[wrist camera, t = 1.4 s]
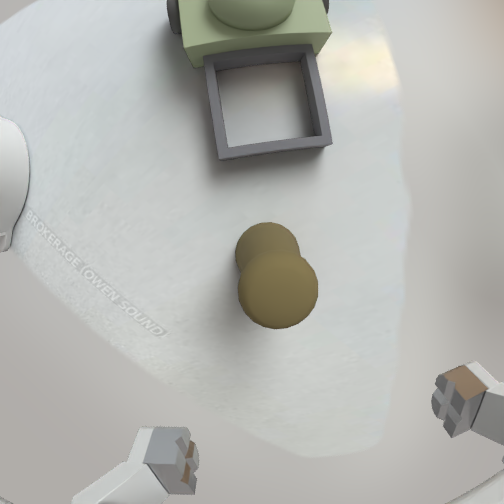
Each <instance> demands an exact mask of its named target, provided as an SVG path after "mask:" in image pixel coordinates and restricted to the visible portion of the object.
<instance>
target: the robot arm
mask: <svg viewBox="0 0 504 504" xmlns="http://www.w3.org/2000/svg"><path fill="white" fill-rule="evenodd" d="M28 183H29V155H28V149H27V145H26V141H25V138H24V136H23V134H22V132H21V130H20V129H19V127H18V126H17V125H16V124H15V123H14V122H12V121H10V120H8V119H5V118H3V117H1V116H0V252H4V251H7V250H8V249H9V247H10V243H11V237H12V230H13V227H14V225H15V223H16V221H17V219H18V217H19V215H20V213H21V211H22V208H23V205H24V202H25V199H26V195H27V190H28ZM435 385H436V386H437V387H438V388H437V389H436V390H435V392H434V393H433V396H432V400H431V402H432V409H433V411H434V414H435V415H436V417H437V418H439V419H441V420H444V423H443V427H444V428H445V430H446V431H447V433H448V434H449V435H450V437H451V438H453V437H455V436H457V435H459V434H461V433H463V432H465V431H468V430H470V429H471V430H472V431H474V432H476V433H478V434H480V435H482V436H484V437H486V438H488V439H491V440H493V441H495V442H497V443H499V444H501V445H504V382H501V383H499V382H498V381H497V380H496V379H495V378H493V377H492V376H491V375H490V374H489V373H488V372H487V371H486V370H485V369H484V368H483V367H482V366H481V365H480V364H478V362H476V361H474V360H472V361H470V362H467V363H465V364H463V365H461V366H458V367H456V368H454V369H452V370H450V371H447V372H445V373H442V374H440V375H438V377H437V378H436V382H435ZM190 436H191V434H190V432H189V430H188V428H186V427H147V426H142V427H141V428H140V429H139V430H138V433H137V435H136V438H135V441H134V443H133V446H132V449H131V451H130V454H129V457H128V460H127V462H121V463H120V464H119V465H118V466H116V467H115V468H113V469H112V470H111V471H109V472H108V473H106V474H105V475H104V476H102V477H101V478H99V479H98V480H97V481H95V482H94V483H93V484H91V485H90V486H88V487H87V488H85V489H84V490H82V491H81V492H79V493H78V494H76V495H75V496H74V497H73V499H72V501H71V504H162V503H163V502H164V501H165V500H166V499H167V498H168V496H169V494H187V495H188V494H191V495H192V494H195V488H196V481H197V478H196V477H195V475H194V472H195V471H196V470H197V469H198V466H199V454H198V450H197V447H196V444H195V443H194V442H192V441H191V440H190ZM502 462H503V463H504V456H503V459H502ZM0 504H13V503H11V502H9V501H7V500H5V499H4V498H2V497H0ZM446 504H504V469H503V470H501V471H500V472H498V473H497V474H495V475H494V476H492V477H491V478H489V479H488V480H486V481H485V482H483V483H481V484H480V485H478V486H476V487H475V488H473V489H471V490H470V491H468V492H466V493H464V494H463V495H461V496H459V497H457V498H455V499H453V500H452V501H450V502H448V503H446Z"/></svg>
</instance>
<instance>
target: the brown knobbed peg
mask: <svg viewBox="0 0 504 504" xmlns="http://www.w3.org/2000/svg"><path fill="white" fill-rule="evenodd" d="M235 254H236V262H237V265H238V267H239V269H240V272H241V276H240V280H239V284H238V296H239V301H240V304H241V306H242V308H243V310H244V312H245V313H246V314H247V315H248V316H249V317H250V319H251V320H252V321H253V322H255V323H257V324H259V325H261V326H263V327H266V328H271V329H283V328H288V327H291V326H294V325H296V324H298V323H300V322H301V321H302V320H304V319H305V318H306V317H307V316H308V315H309V314H310V312H311V311H312V310H313V308H314V307H315V304H316V301H317V298H318V280H317V277H316V275H315V272H314V270H313V269H312V267H311V266H310V265H309V264H308V262H307V261H306V260H305V259H304V258H303V257H301V256H300V250H299V246H298V243H297V241H296V238H295V237H294V235H293V234H292V233H291V232H290V231H289V230H288V229H287V228H285V227H283V226H282V225H280V224H276V223H272V222H267V223H259V224H257V225H254V226H252V227H250V228H249V229H248V230H246V231H245V232H244V233H243V234H242V236H241V237H240V239H239V241H238V243H237V247H236V251H235Z"/></svg>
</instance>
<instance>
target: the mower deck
mask: <svg viewBox="0 0 504 504" xmlns="http://www.w3.org/2000/svg"><path fill="white" fill-rule="evenodd" d="M328 9H329V0H167V11H168V17H169V21H170V25H171V28H172V31H173V33H174V34H177V33H181V32H182V37H183V45H184V49H185V51H186V54H187V56H188V58H189V60H190V62H191V64H192V66H193V68H197V67H202V66H204V68H205V75H206V81H207V88H208V94H209V101H210V107H211V113H212V120H213V126H214V132H215V138H216V145H217V151H218V157H219V160H221V161H224V160H229V159H235V158H241V157H248V156H254V155H261V154H268V153H275V152H283V151H291V150H299V149H308V148H317V147H326V146H328V145H331V144H333V143H332V137H331V131H330V126H329V120H328V115H327V109H326V104H325V99H324V94H323V89H322V85H321V80H320V76H319V71H318V67H317V63H316V58H315V54H319V52H320V50H321V49H322V47H323V46H324V44H325V43H326V41H327V39H328V38H329V36H330V35H331V33H332V31H331V27H330V24H329V21H328V17H327V13H328ZM298 61H300V63H301V68H302V72H303V77H304V81H305V86H306V91H307V96H308V101H309V106H310V112H311V117H312V122H313V128H314V134H315V136H313V137H303V138H294V139H286V140H278V141H270V142H263V143H256V144H249V145H243V146H237V147H231V148H228V144H227V138H226V132H225V126H224V120H223V114H222V108H221V101H220V95H219V89H218V83H217V76H216V71H220V70H226V69H232V68H239V67H246V66H254V65H262V64H272V63H283V62H298Z"/></svg>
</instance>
